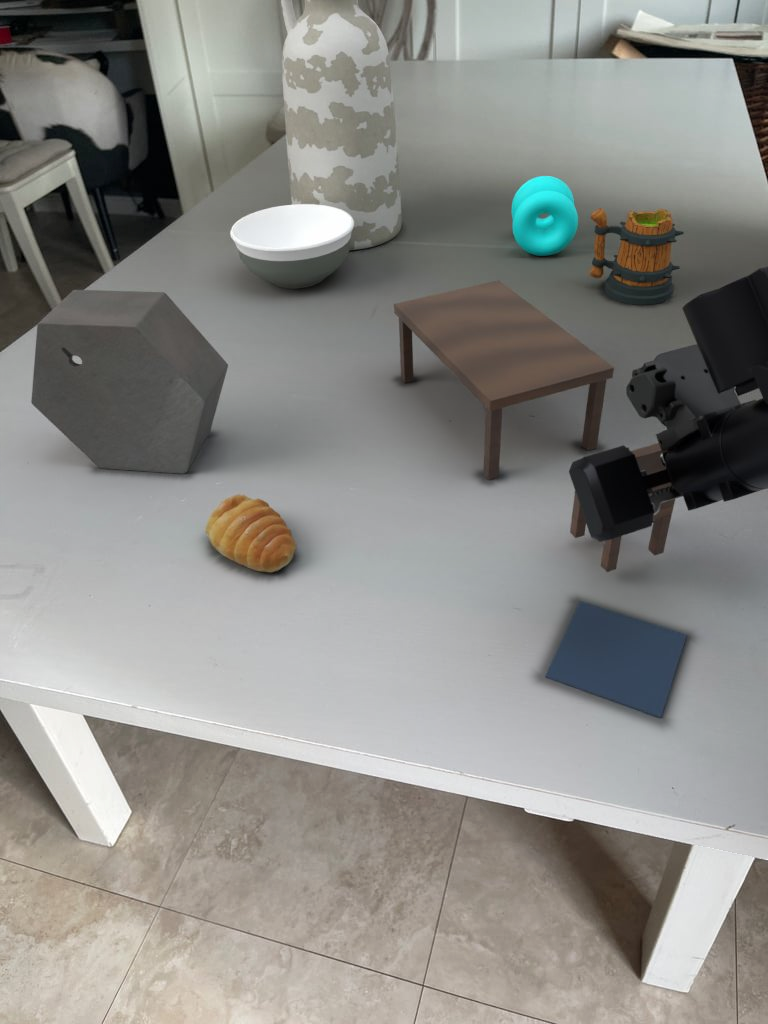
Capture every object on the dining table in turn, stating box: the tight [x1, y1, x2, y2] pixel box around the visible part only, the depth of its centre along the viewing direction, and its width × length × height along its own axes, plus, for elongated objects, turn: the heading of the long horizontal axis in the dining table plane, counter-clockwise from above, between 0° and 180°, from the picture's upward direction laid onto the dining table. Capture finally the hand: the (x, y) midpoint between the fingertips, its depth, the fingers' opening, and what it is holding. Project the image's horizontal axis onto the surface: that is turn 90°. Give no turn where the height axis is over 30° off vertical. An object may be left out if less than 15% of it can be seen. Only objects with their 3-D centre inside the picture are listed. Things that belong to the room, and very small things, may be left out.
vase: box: [280, 0, 403, 251], centre depth 129 cm, size 20×19×38 cm
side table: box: [393, 279, 615, 481], centre depth 91 cm, size 24×14×10 cm, turn 22°
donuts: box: [511, 175, 579, 257], centre depth 128 cm, size 10×10×10 cm
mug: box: [588, 207, 684, 306], centre depth 113 cm, size 13×10×12 cm
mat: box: [545, 601, 688, 719], centre depth 65 cm, size 9×9×1 cm
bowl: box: [229, 204, 354, 289], centre depth 124 cm, size 19×19×8 cm
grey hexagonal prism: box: [30, 289, 229, 475], centre depth 86 cm, size 17×8×21 cm
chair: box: [569, 442, 676, 573], centre depth 70 cm, size 6×6×12 cm
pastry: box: [205, 494, 298, 573], centre depth 76 cm, size 9×7×4 cm
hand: (634, 487), depth 68 cm, fingers closed on chair, 6 cm apart
